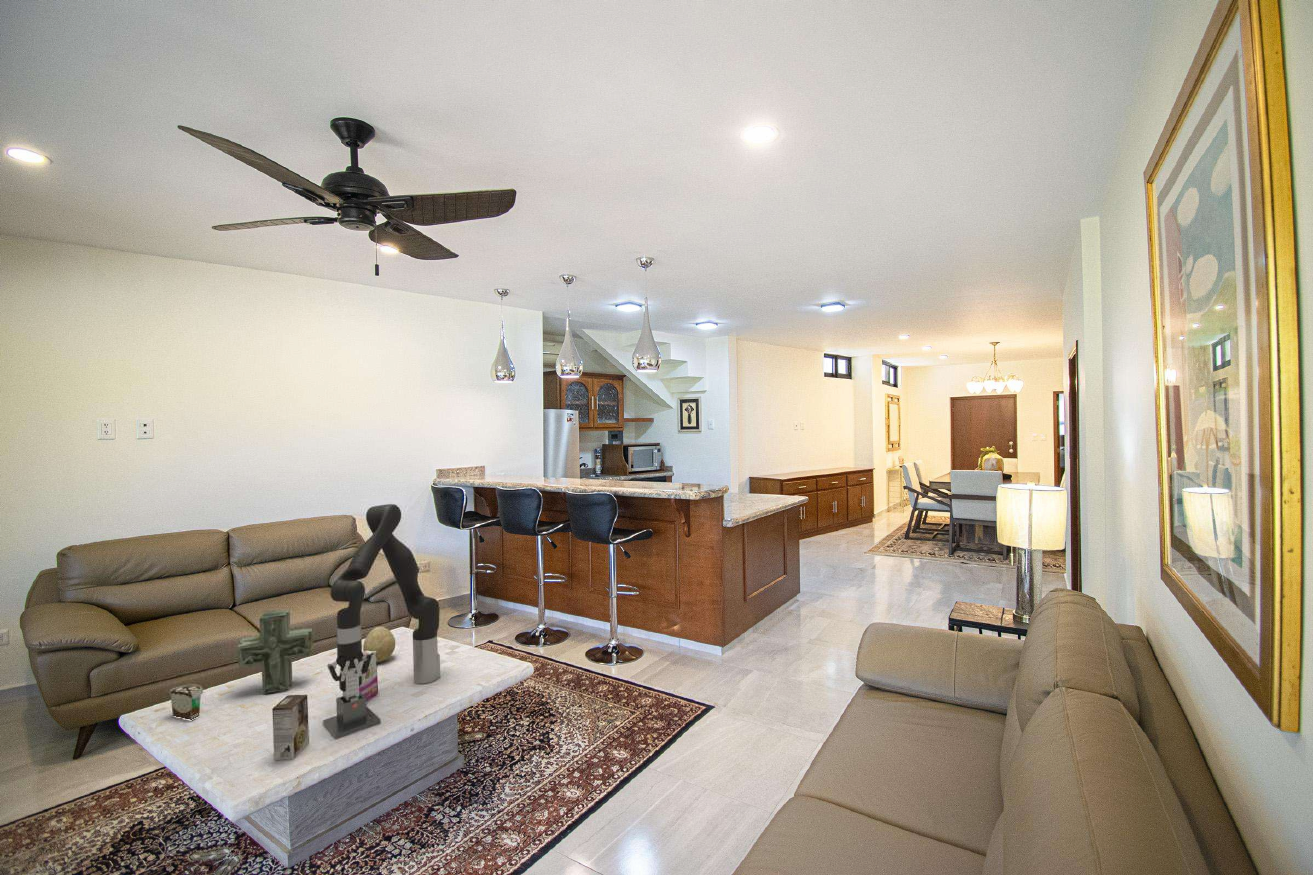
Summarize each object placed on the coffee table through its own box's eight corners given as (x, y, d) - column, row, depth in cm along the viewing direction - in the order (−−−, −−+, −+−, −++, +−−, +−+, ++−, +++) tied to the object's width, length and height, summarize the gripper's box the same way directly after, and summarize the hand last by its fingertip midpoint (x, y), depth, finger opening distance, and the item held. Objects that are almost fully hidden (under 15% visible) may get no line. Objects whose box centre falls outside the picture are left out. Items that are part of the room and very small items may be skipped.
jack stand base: (366, 709, 210) (365, 682, 210) (380, 723, 200) (379, 694, 200) (323, 724, 200) (322, 695, 200) (335, 739, 190) (334, 708, 190)
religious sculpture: (237, 701, 219) (235, 621, 219) (244, 689, 229) (242, 613, 229) (311, 688, 229) (308, 612, 228) (314, 677, 239) (312, 604, 239)
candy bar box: (367, 692, 224) (365, 649, 224) (378, 693, 223) (377, 650, 223) (346, 705, 213) (344, 661, 213) (358, 706, 212) (356, 662, 212)
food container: (212, 713, 210) (211, 685, 210) (193, 721, 204) (192, 693, 204) (188, 708, 214) (187, 681, 214) (170, 716, 208) (169, 688, 208)
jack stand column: (356, 714, 203) (354, 669, 203) (360, 718, 200) (359, 673, 199) (343, 718, 200) (341, 673, 200) (347, 722, 197) (346, 677, 196)
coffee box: (288, 744, 187) (287, 694, 187) (309, 743, 188) (308, 693, 188) (272, 760, 178) (271, 708, 178) (294, 759, 179) (293, 706, 178)
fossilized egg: (370, 656, 261) (369, 623, 261) (399, 654, 262) (398, 621, 262) (358, 667, 248) (357, 632, 248) (390, 665, 249) (389, 631, 249)
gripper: (367, 631, 207) (368, 679, 207) (322, 641, 197) (324, 692, 197) (375, 635, 202) (376, 685, 202) (329, 647, 192) (331, 699, 192)
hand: (350, 688), depth 200 cm, fingers closed on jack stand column, 4 cm apart
